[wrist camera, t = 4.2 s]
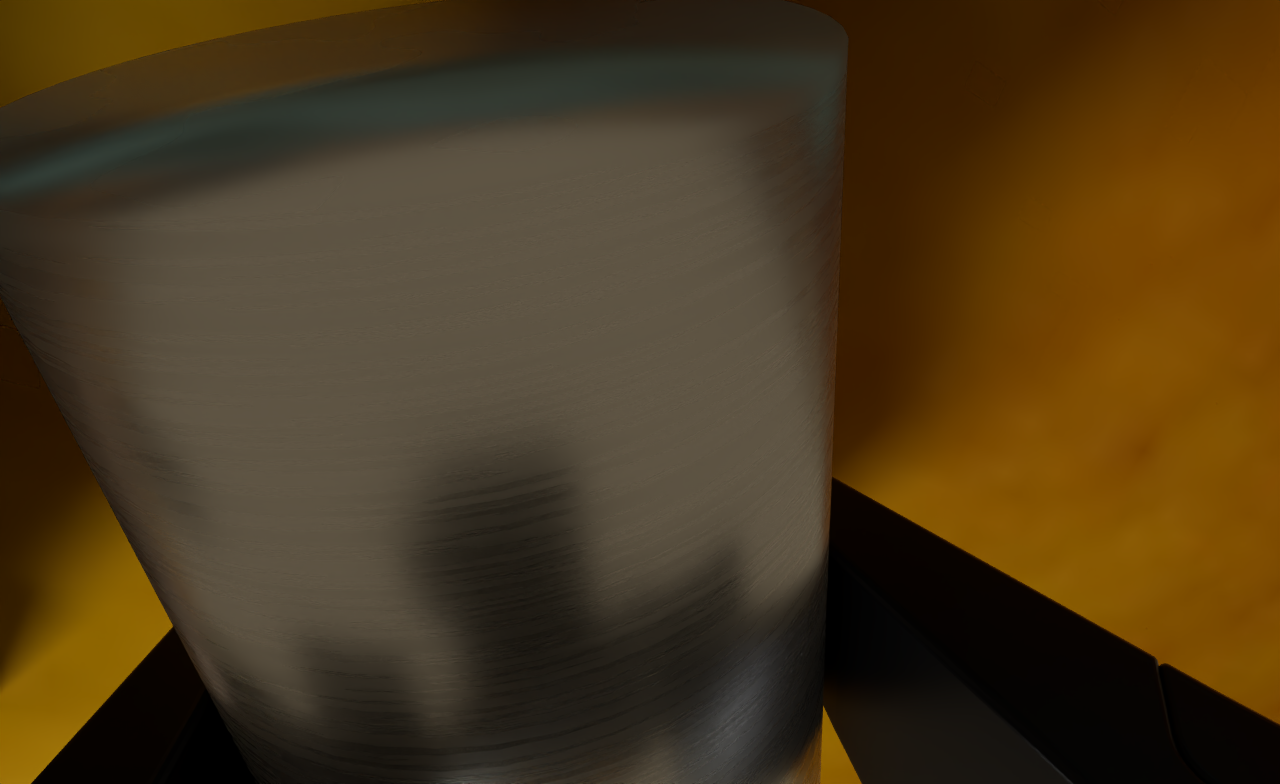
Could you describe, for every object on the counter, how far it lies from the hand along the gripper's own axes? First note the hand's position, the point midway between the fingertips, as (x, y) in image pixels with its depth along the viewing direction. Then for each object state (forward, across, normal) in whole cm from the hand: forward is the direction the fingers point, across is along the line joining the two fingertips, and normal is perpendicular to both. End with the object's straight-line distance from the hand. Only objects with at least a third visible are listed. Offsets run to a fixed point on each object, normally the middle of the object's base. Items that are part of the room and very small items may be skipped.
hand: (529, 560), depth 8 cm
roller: (-1, 0, 0) cm, 1 cm away
